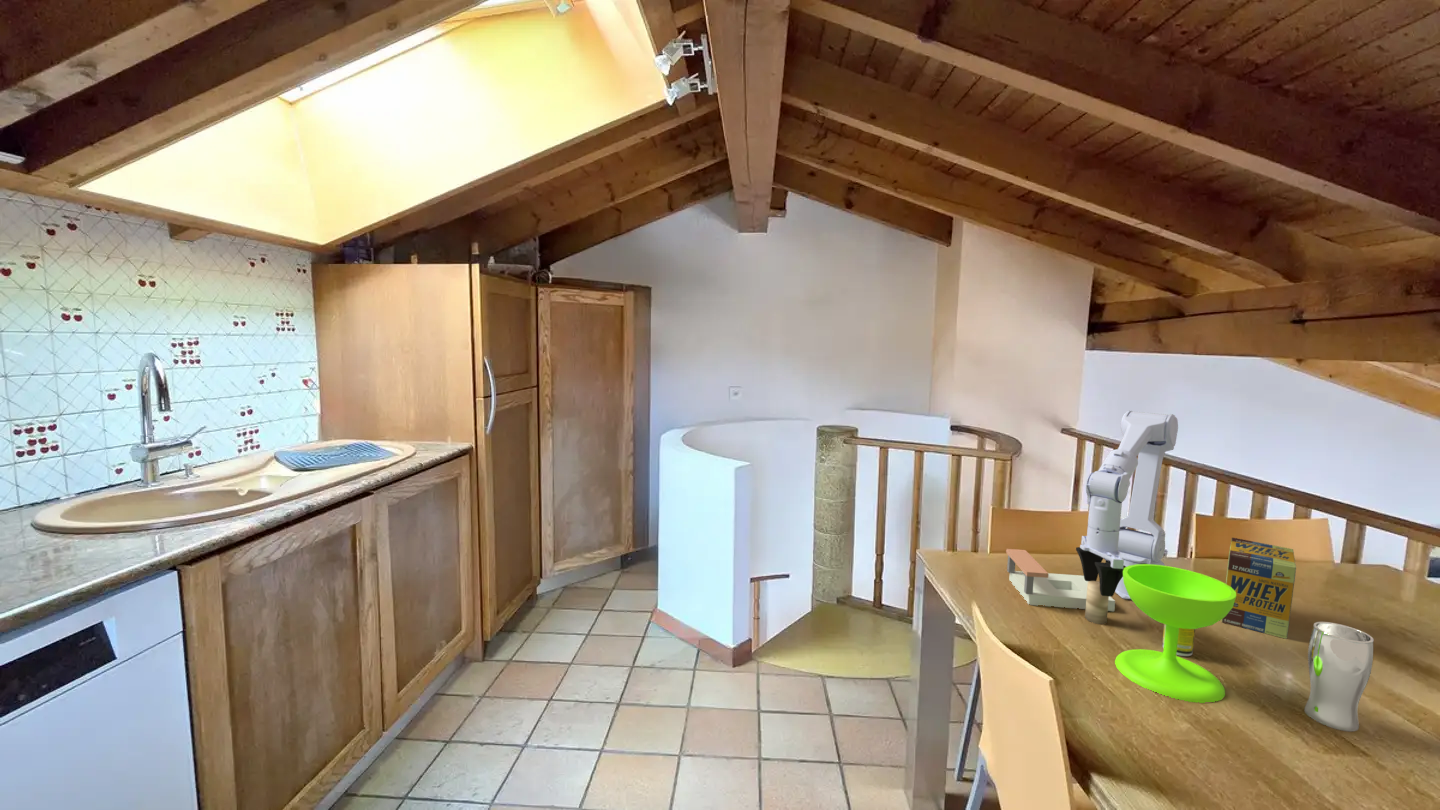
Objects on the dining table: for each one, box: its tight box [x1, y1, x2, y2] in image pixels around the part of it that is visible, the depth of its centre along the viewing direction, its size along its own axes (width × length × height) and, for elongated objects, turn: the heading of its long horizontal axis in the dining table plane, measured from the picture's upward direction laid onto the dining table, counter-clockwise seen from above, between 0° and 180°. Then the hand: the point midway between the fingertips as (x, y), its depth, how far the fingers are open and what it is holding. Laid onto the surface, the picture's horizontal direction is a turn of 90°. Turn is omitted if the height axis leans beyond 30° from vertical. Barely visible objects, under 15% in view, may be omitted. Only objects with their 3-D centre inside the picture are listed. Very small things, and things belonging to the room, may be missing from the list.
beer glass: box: [1304, 621, 1374, 732], centre depth 93 cm, size 7×7×15 cm
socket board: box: [1008, 570, 1116, 612], centre depth 139 cm, size 18×14×2 cm
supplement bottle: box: [1161, 624, 1196, 657], centre depth 114 cm, size 5×5×8 cm
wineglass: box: [1114, 564, 1236, 704], centre depth 105 cm, size 16×16×18 cm
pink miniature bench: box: [1005, 548, 1049, 595], centre depth 140 cm, size 4×15×6 cm, turn 170°
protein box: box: [1221, 537, 1297, 639], centre depth 127 cm, size 10×15×16 cm
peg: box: [1084, 580, 1109, 625], centre depth 126 cm, size 4×4×8 cm
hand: (1098, 588), depth 126 cm, fingers open, 7 cm apart
